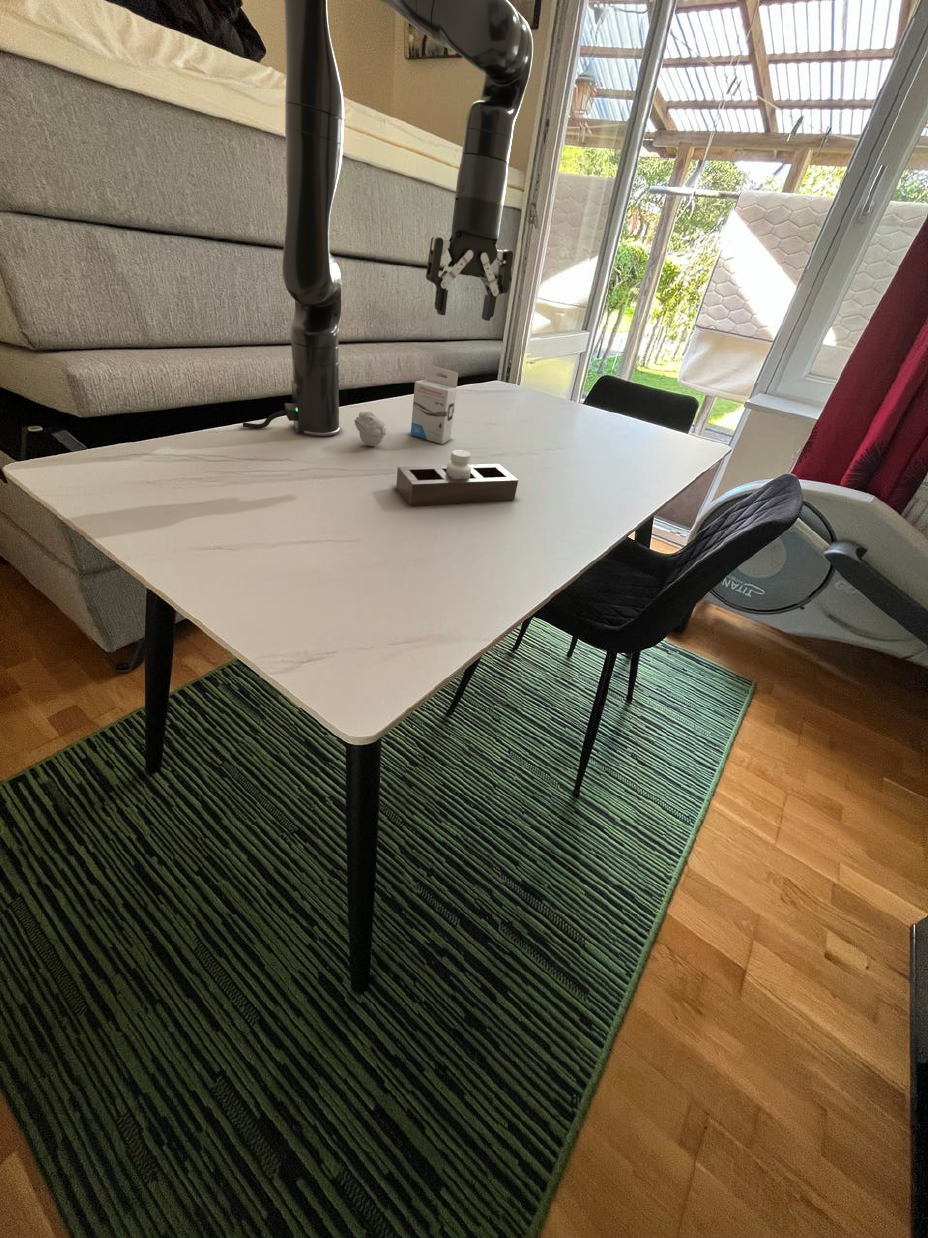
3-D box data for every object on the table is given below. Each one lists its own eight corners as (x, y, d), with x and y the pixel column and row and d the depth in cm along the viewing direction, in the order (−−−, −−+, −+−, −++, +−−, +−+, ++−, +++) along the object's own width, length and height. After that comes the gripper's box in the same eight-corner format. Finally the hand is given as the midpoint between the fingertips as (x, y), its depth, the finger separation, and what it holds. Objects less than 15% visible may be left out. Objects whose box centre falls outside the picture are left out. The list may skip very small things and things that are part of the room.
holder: (514, 500, 98) (518, 480, 95) (410, 506, 89) (412, 484, 87) (495, 483, 103) (498, 463, 101) (396, 487, 95) (397, 466, 92)
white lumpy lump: (348, 442, 110) (348, 408, 106) (375, 439, 114) (376, 406, 110) (363, 452, 107) (364, 417, 103) (391, 448, 111) (393, 415, 107)
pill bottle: (468, 491, 98) (474, 451, 93) (465, 500, 94) (472, 458, 90) (445, 487, 98) (450, 446, 93) (442, 496, 94) (447, 454, 90)
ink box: (409, 435, 120) (414, 366, 111) (419, 430, 124) (425, 363, 115) (442, 444, 118) (449, 375, 109) (451, 439, 121) (459, 372, 113)
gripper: (509, 206, 85) (490, 317, 95) (428, 187, 79) (417, 308, 89) (530, 207, 80) (509, 325, 89) (446, 187, 74) (432, 316, 84)
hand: (463, 317), depth 89 cm, fingers open, 8 cm apart
